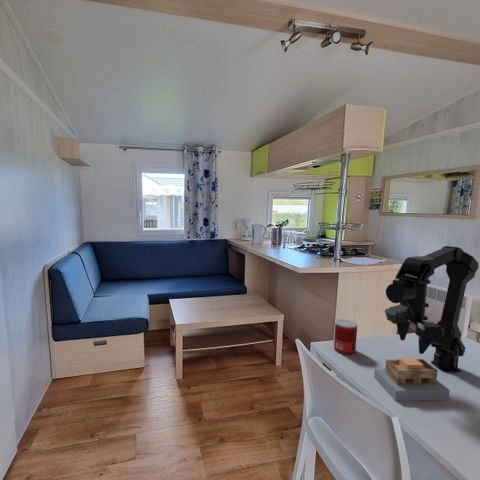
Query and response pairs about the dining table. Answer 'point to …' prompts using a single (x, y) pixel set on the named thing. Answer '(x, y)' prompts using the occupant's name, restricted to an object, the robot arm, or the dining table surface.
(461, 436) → the dining table surface
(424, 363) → the shallow cardboard tray
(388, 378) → the dock
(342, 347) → the canned food
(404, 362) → the block
